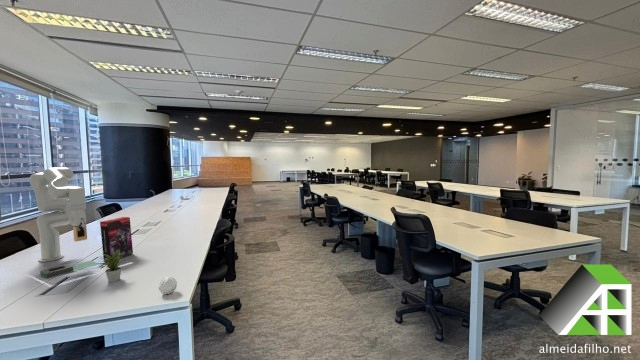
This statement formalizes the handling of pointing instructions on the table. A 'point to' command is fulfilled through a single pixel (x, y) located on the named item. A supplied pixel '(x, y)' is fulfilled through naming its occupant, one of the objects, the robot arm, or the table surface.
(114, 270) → the house plant
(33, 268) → the table surface
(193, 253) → the table surface
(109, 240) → the graphics card box
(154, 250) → the table surface
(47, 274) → the header board
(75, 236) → the plug
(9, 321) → the table surface
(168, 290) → the white rough ball
